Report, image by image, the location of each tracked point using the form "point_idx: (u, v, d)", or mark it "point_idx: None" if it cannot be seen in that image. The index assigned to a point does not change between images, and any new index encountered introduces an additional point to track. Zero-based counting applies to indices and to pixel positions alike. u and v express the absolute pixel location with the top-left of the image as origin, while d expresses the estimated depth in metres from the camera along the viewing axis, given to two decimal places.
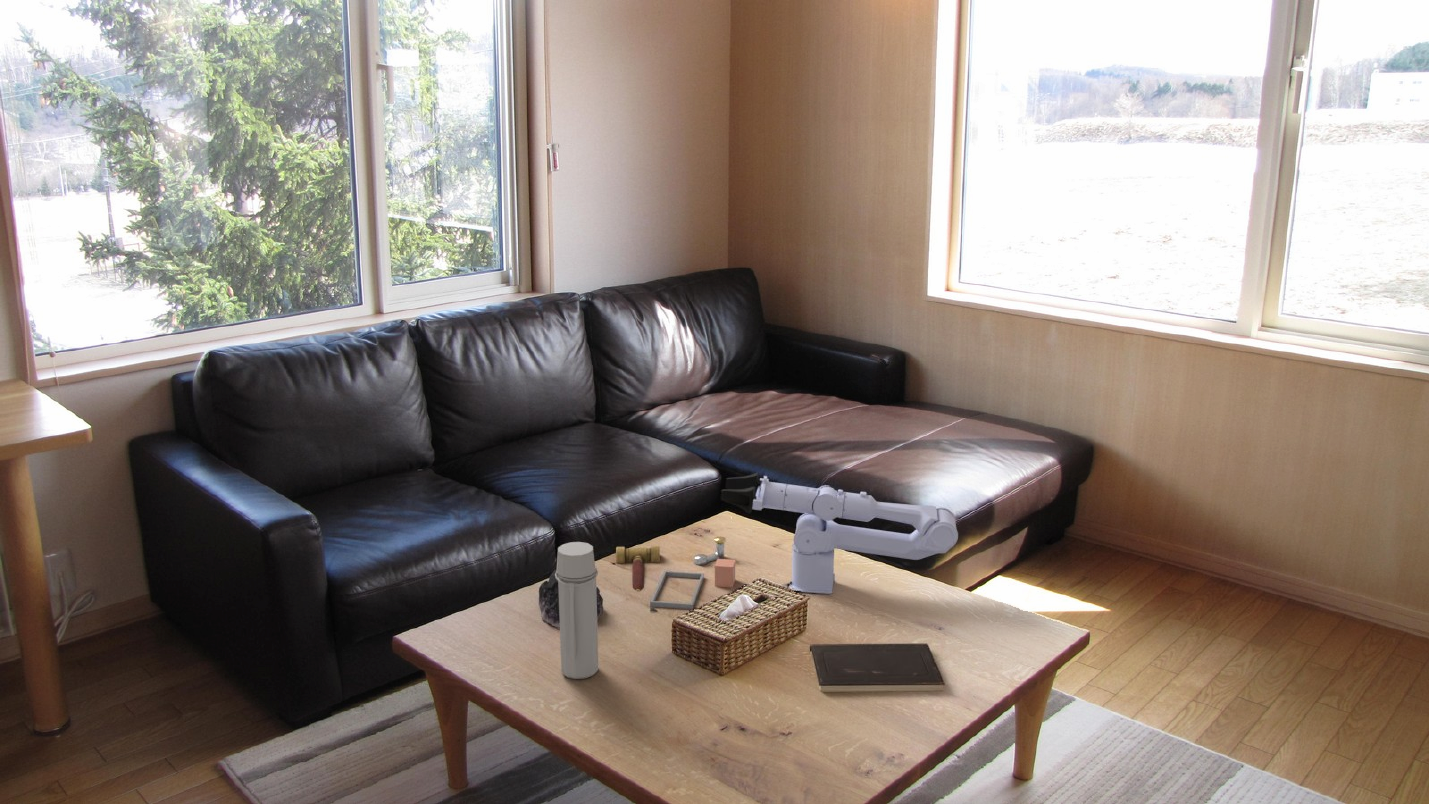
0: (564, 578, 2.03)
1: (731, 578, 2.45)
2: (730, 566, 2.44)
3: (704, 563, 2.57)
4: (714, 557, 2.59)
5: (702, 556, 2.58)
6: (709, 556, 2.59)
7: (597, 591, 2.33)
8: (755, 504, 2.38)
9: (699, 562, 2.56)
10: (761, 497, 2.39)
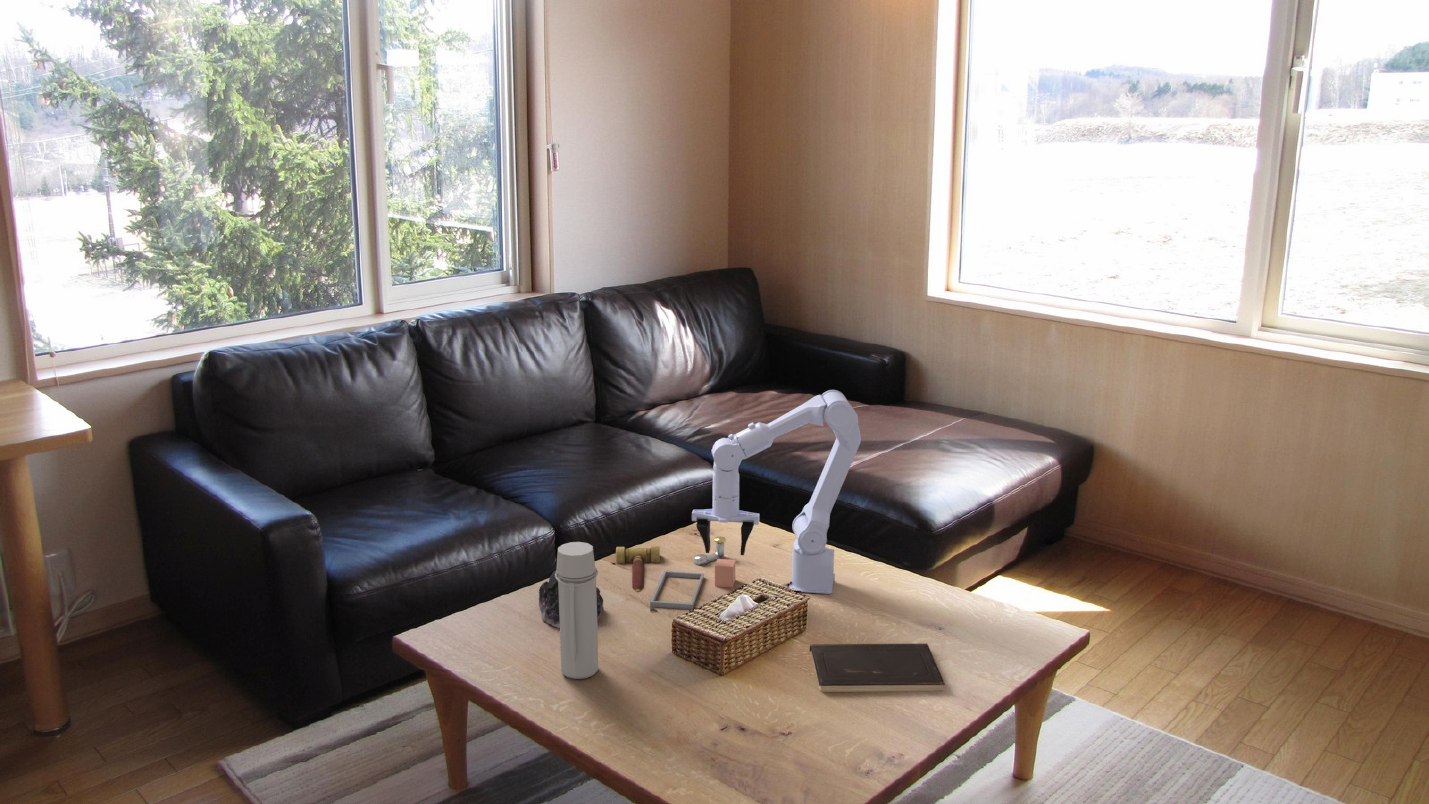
0: (564, 578, 2.03)
1: (731, 578, 2.45)
2: (730, 566, 2.44)
3: (704, 563, 2.57)
4: (714, 557, 2.59)
5: (702, 556, 2.58)
6: (709, 556, 2.59)
7: (597, 591, 2.33)
8: (758, 521, 2.42)
9: (699, 562, 2.56)
10: (750, 517, 2.41)
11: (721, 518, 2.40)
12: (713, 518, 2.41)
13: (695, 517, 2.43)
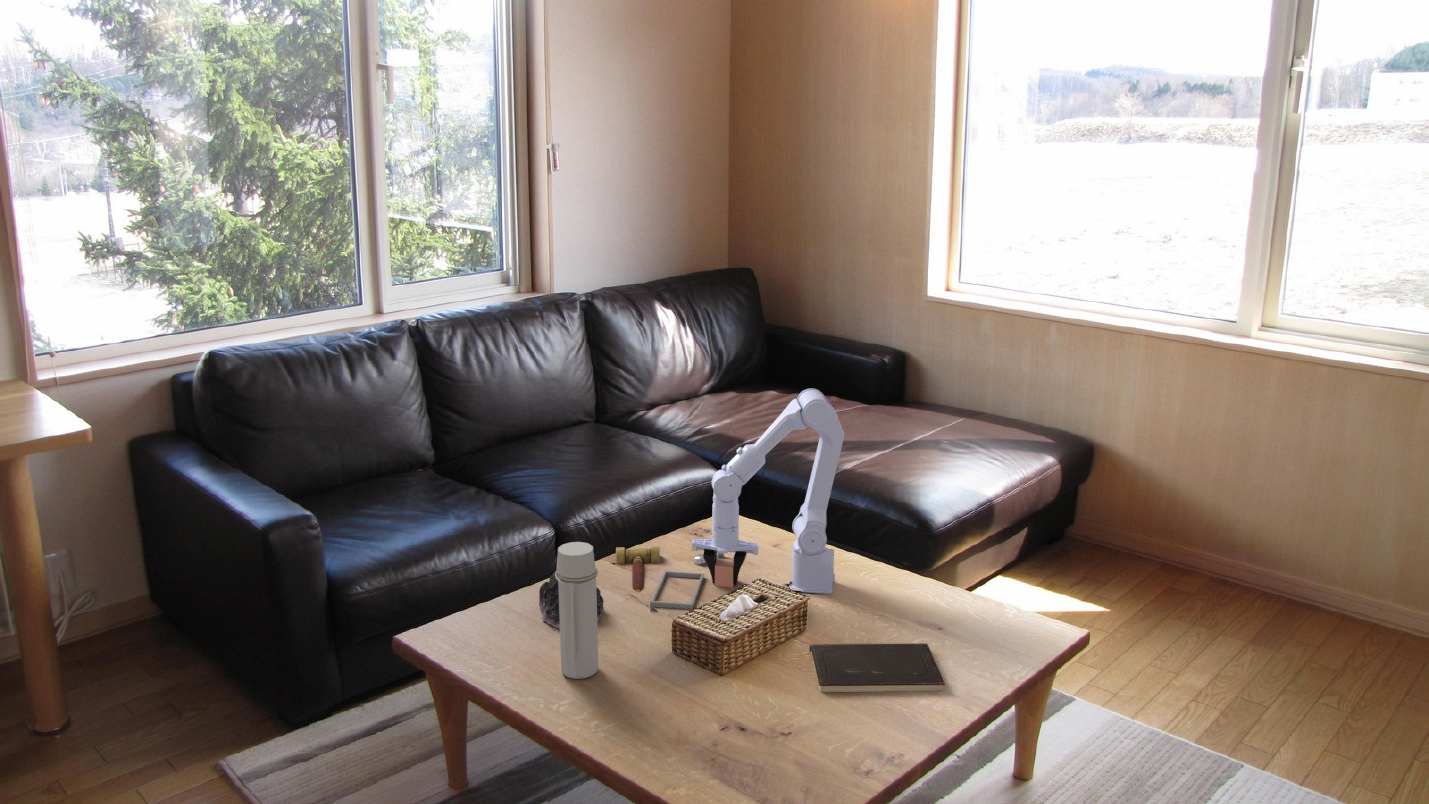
0: (564, 578, 2.03)
1: (731, 578, 2.45)
2: (730, 566, 2.44)
3: (704, 563, 2.57)
4: None
5: (702, 556, 2.58)
6: None
7: (598, 592, 2.33)
8: (758, 551, 2.44)
9: (699, 562, 2.56)
10: (749, 548, 2.43)
11: (721, 548, 2.42)
12: (713, 548, 2.43)
13: (695, 547, 2.45)
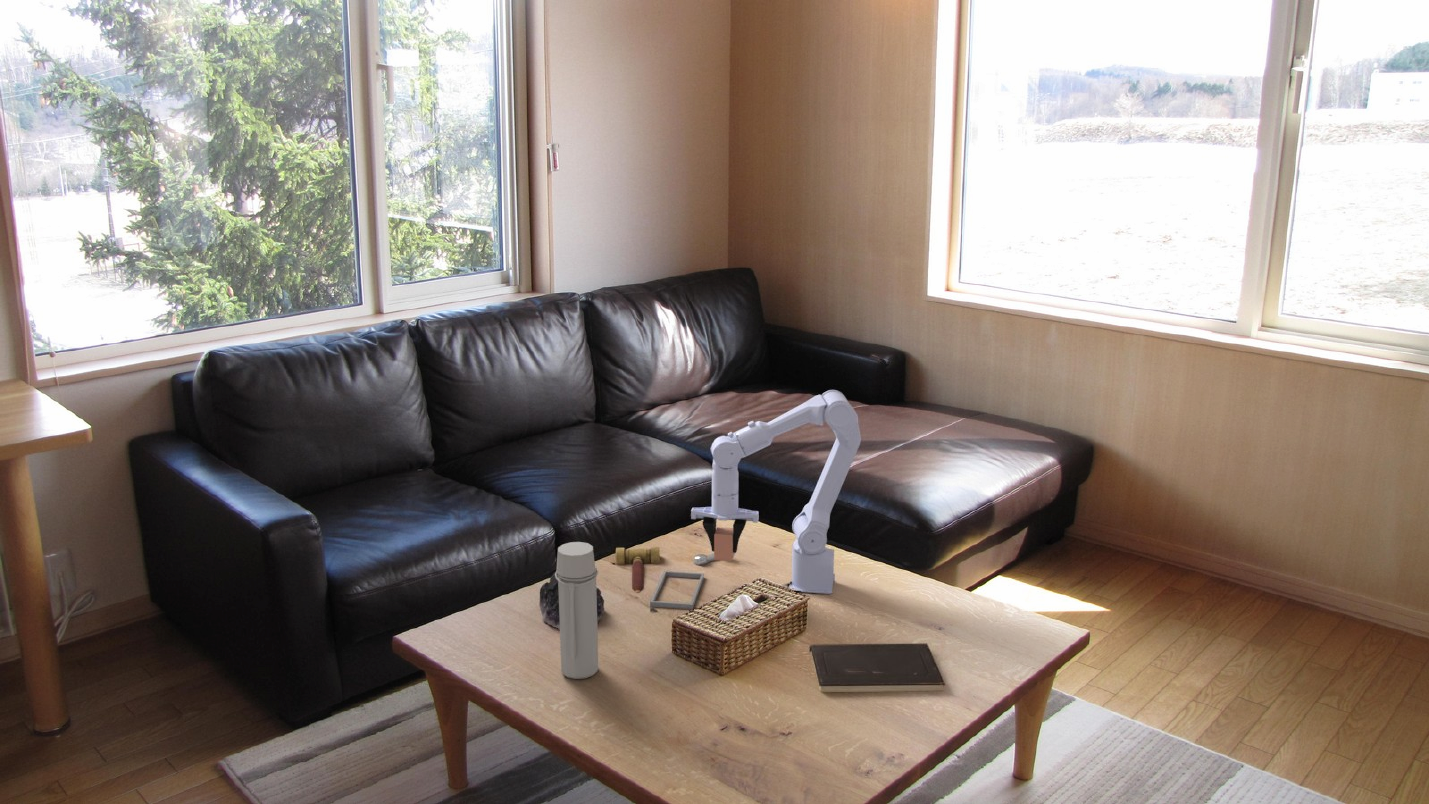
0: (564, 578, 2.03)
1: (731, 546, 2.43)
2: (730, 534, 2.42)
3: (704, 563, 2.57)
4: None
5: (702, 556, 2.58)
6: (709, 556, 2.59)
7: (598, 592, 2.33)
8: (758, 519, 2.42)
9: (699, 562, 2.56)
10: (749, 515, 2.41)
11: (720, 516, 2.40)
12: (712, 516, 2.41)
13: (694, 515, 2.43)
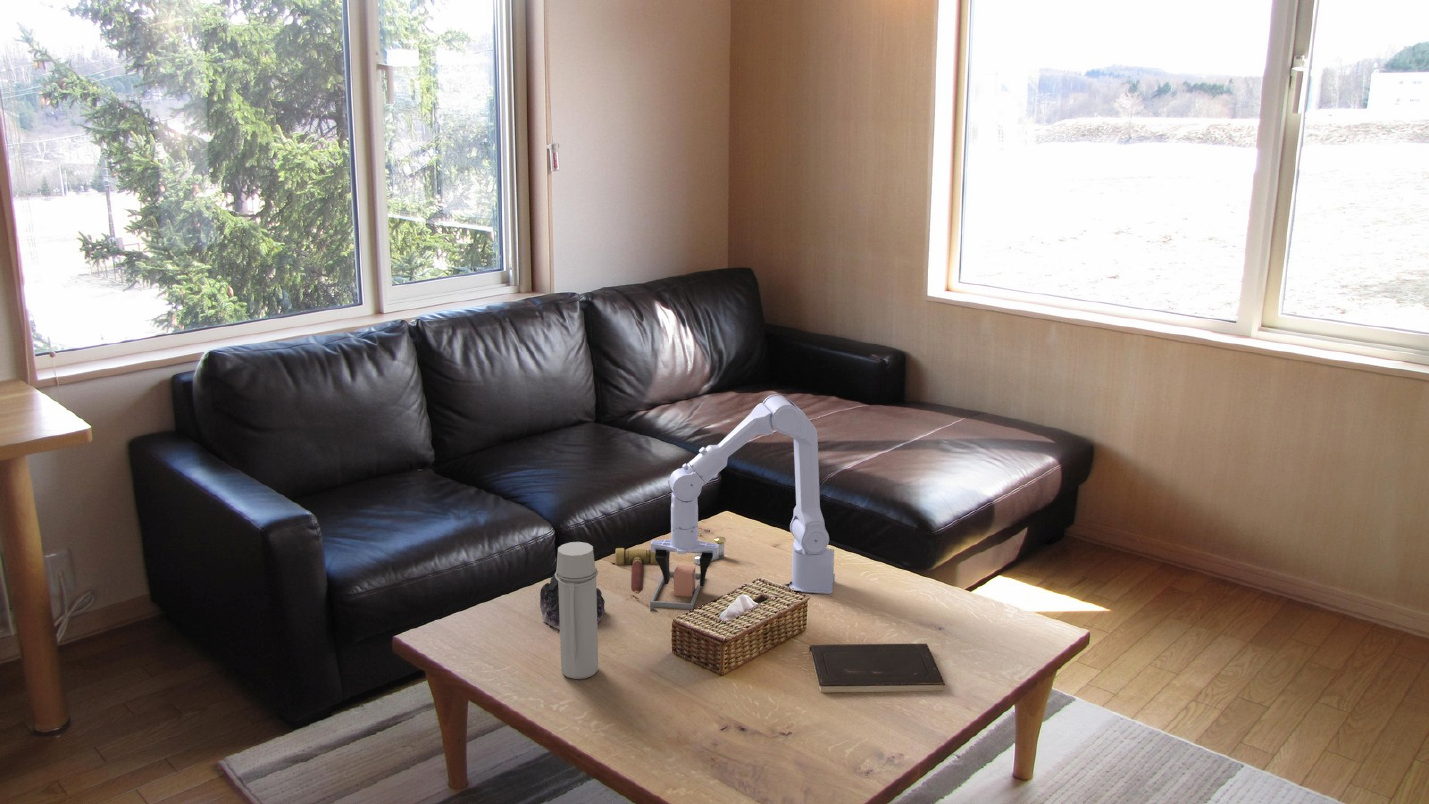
0: (564, 578, 2.03)
1: (690, 585, 2.40)
2: (689, 573, 2.40)
3: None
4: (714, 557, 2.59)
5: None
6: None
7: (599, 593, 2.32)
8: (718, 552, 2.39)
9: (699, 562, 2.56)
10: (709, 548, 2.38)
11: (679, 549, 2.37)
12: (671, 549, 2.38)
13: (654, 548, 2.40)
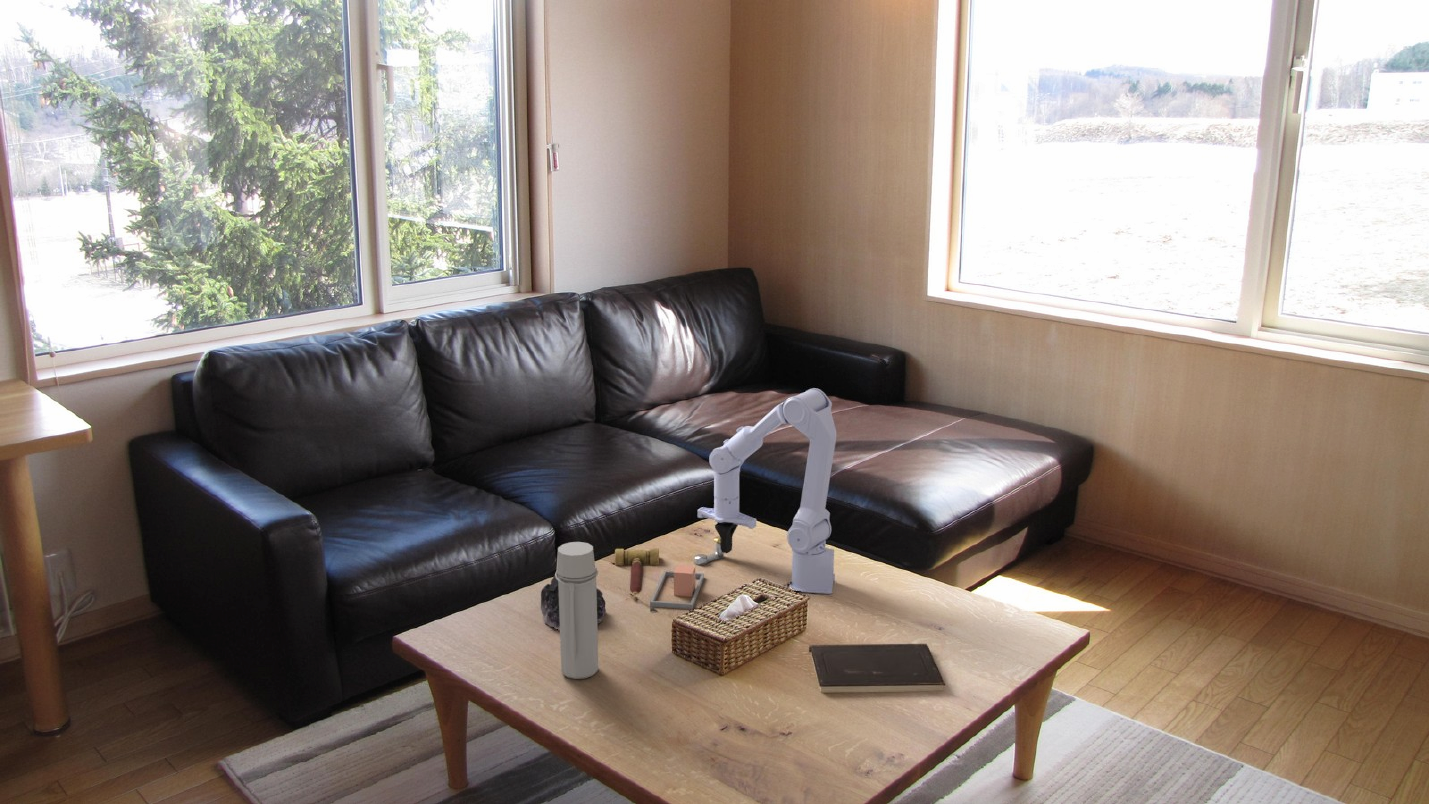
0: (564, 578, 2.03)
1: (690, 585, 2.40)
2: (689, 573, 2.40)
3: (704, 563, 2.57)
4: (714, 557, 2.60)
5: (702, 556, 2.58)
6: (709, 556, 2.59)
7: (600, 594, 2.32)
8: (753, 525, 2.54)
9: (700, 562, 2.56)
10: (744, 521, 2.54)
11: (717, 518, 2.55)
12: (712, 517, 2.57)
13: (700, 514, 2.60)
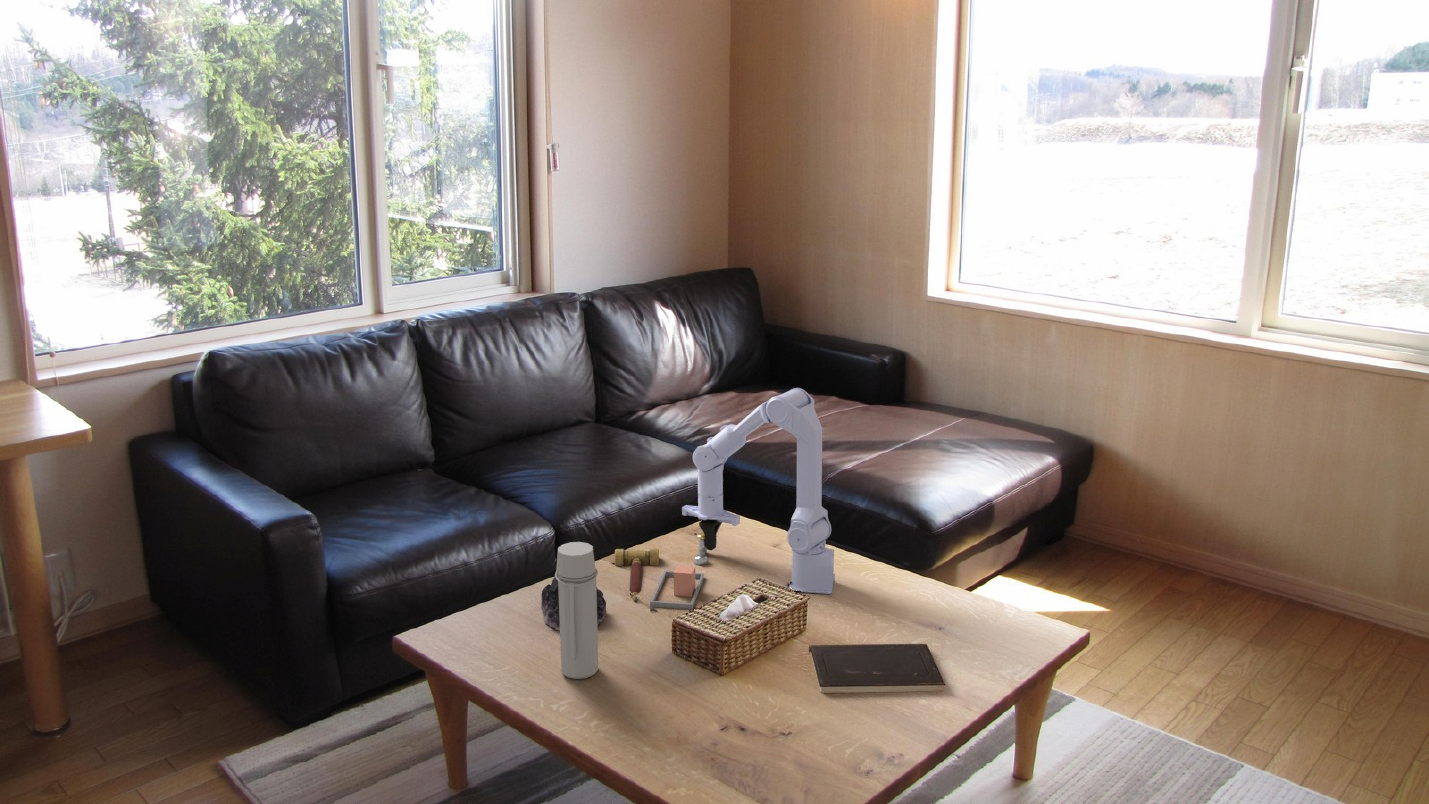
0: (564, 578, 2.03)
1: (690, 585, 2.40)
2: (689, 573, 2.40)
3: None
4: (704, 554, 2.61)
5: (701, 556, 2.58)
6: None
7: (600, 594, 2.32)
8: (737, 522, 2.56)
9: (705, 561, 2.57)
10: (728, 518, 2.56)
11: (701, 515, 2.57)
12: (696, 514, 2.59)
13: (684, 512, 2.62)
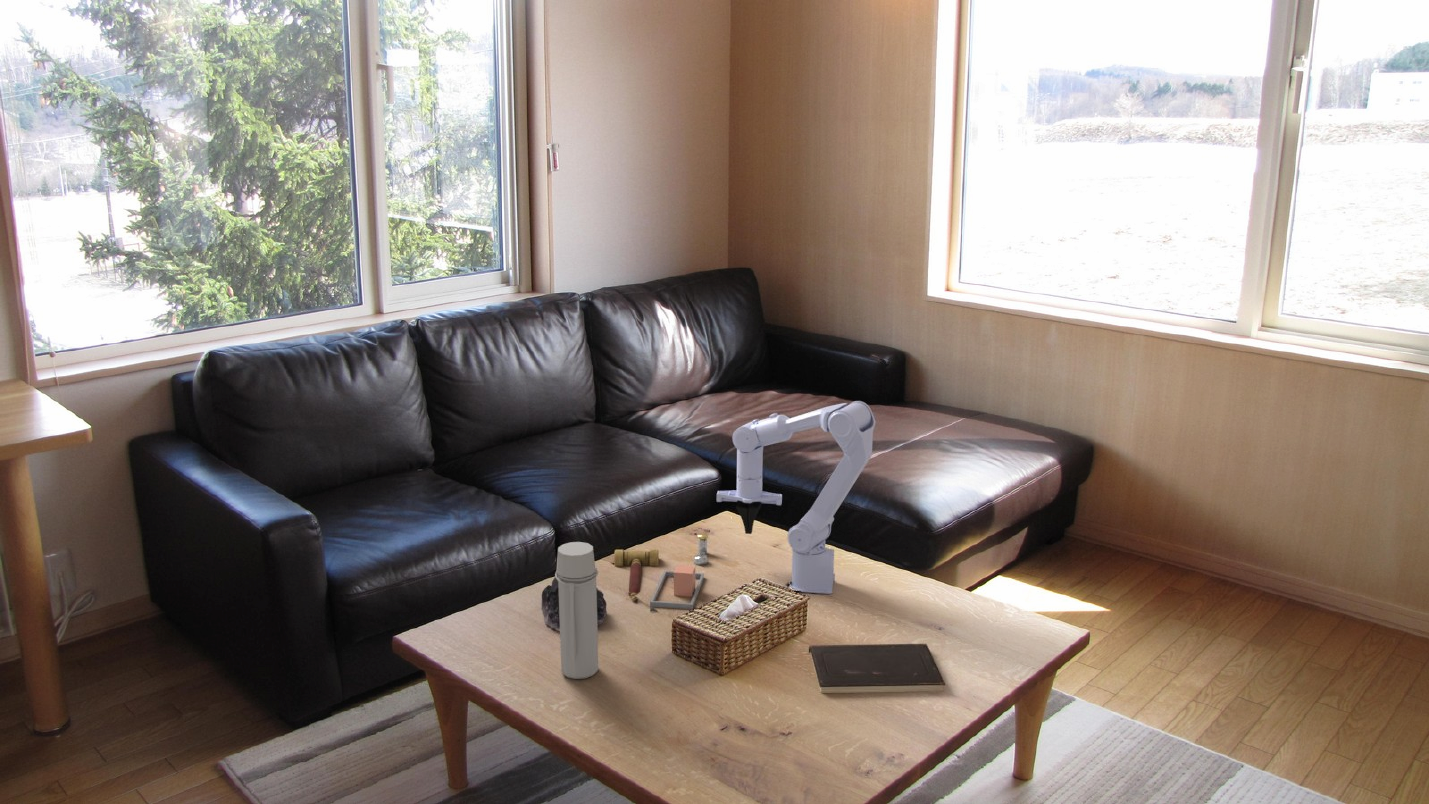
0: (564, 578, 2.03)
1: (690, 585, 2.40)
2: (689, 573, 2.40)
3: None
4: (704, 554, 2.61)
5: (701, 556, 2.58)
6: None
7: (601, 595, 2.31)
8: (781, 501, 2.51)
9: (705, 561, 2.57)
10: (773, 498, 2.50)
11: (745, 499, 2.49)
12: (737, 499, 2.50)
13: (720, 498, 2.52)
